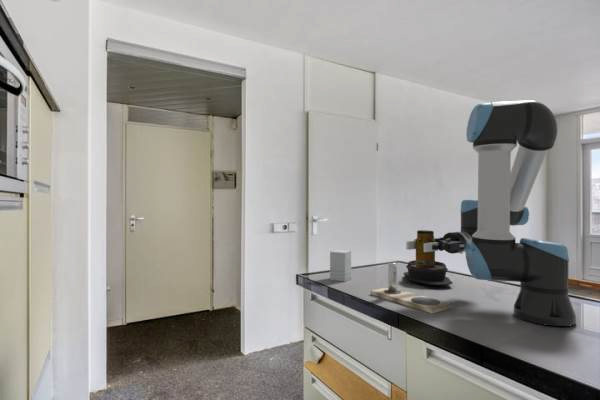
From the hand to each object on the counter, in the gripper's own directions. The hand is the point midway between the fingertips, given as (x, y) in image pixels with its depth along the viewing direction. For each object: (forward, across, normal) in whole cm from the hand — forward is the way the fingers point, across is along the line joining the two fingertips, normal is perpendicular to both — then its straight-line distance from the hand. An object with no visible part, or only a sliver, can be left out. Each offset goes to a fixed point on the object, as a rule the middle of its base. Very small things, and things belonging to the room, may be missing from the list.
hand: (415, 246), depth 111 cm
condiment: (-5, -1, -7) cm, 9 cm away
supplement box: (-7, +45, -20) cm, 50 cm away
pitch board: (-5, +7, -20) cm, 22 cm away
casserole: (-35, +21, -20) cm, 45 cm away
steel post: (-5, +14, -20) cm, 25 cm away
